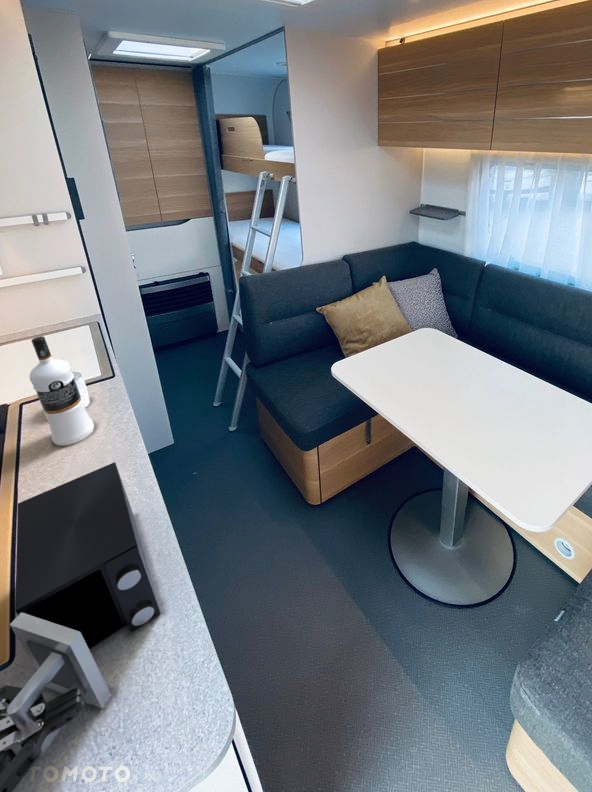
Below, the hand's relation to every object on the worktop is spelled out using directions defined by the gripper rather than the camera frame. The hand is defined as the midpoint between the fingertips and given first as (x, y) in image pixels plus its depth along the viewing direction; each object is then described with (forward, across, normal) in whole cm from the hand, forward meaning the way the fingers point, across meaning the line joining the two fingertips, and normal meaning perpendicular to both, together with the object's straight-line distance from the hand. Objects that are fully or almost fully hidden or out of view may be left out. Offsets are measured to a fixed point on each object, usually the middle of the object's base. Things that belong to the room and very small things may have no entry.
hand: (82, 698), depth 54 cm
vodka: (-7, -72, -8) cm, 73 cm away
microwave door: (-5, -4, -7) cm, 9 cm away
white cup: (-8, -86, -8) cm, 87 cm away
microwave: (0, -21, -8) cm, 22 cm away
